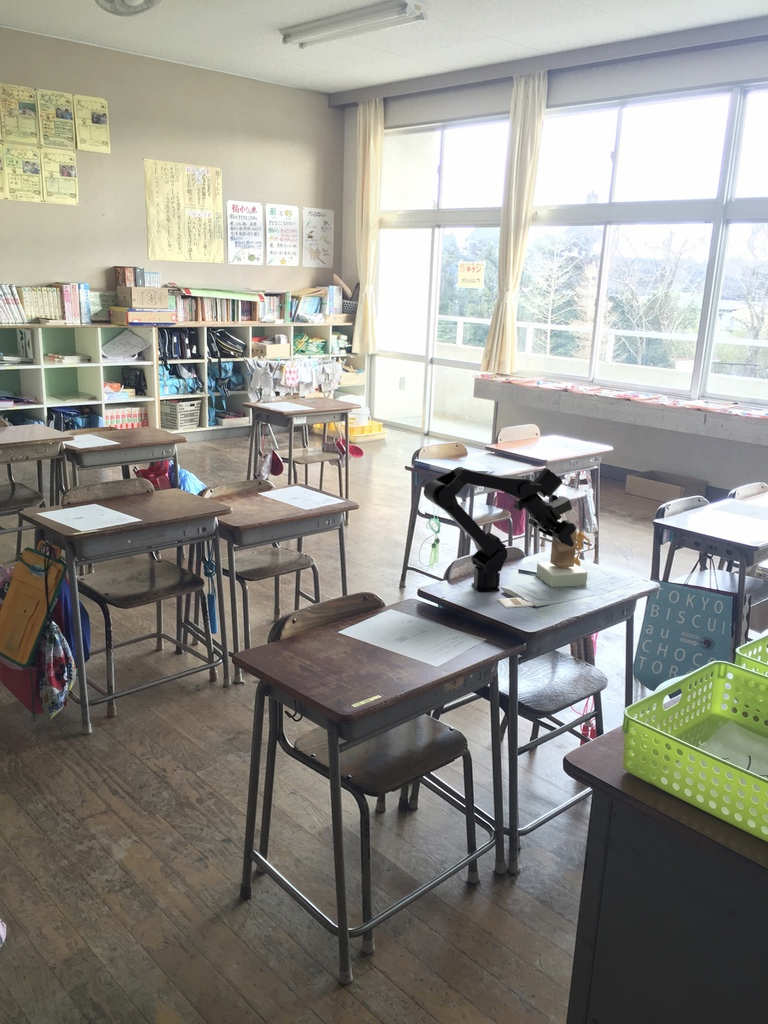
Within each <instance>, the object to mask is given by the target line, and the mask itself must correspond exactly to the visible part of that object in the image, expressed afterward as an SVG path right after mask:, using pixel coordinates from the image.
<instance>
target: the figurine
mask: <svg viewBox="0 0 768 1024" xmlns="http://www.w3.org/2000/svg"><path fill="white" fill-rule="evenodd" d="M584 540H585V541H587V546H588V547H587V550H588V551H590V550H591V549H590V547H591V543H590V542H591V540H590V538H588V537H587V536H586V535H585V533H584V532H582V531H577V536H576V547H575V549H577V552H576V550H575V555H576V553H577V556H575V558H574V563H575V564H576V565H578V566H579V567H581V561H580V559H579V557H580V553H581V549H582V547H583V545H584V544H583V543H582V542H583V541H584Z"/></svg>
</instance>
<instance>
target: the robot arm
mask: <svg viewBox="0 0 768 1024" xmlns="http://www.w3.org/2000/svg"><path fill="white" fill-rule="evenodd" d="M467 484H469V485H474V486H479V487H482V488H483V487H484V488H487V489H492V490H493V489H494V490H497V491H501V492H504V493H506V494H507V495H508V494H509V495H511V496H513V497H516V498H518V499H514V504H513V507H512V508H513V509H515V510H517V511H519V512H521V511H523V509H524V510H525V512H526V513H527V514H528V517H529V518H528V524H529V525H530V526H531V527H532V528H533V529H536V530H538V532H540V533H542V534H544V535H546V536H548V537H551V538H552V536H553V537H554V538H553V539H555V540H557V541H559V542H561V543H564V544H566V545H568V546H571V547H572V546H573V545H574V543H573V541H572V538H571V534H572V533H573V532H574V531H575V530H576V531H577V528H578V527H577V526H576V524H574V523H573V522H572V521H570V520H568V519H566V520H563V519H562V515H563V514H566V513H567V512H570V511H571V510H573V505H572V503H571V500H570V498H568V497H566V496H563V495H561V496H560V495H559V496H558V495H556V494H554V493H555V492H556V491H557V490H558V488H560V487H561V485H562V484H563V480H562V479H561V477H560V476H558V475H556V473H554V472H553V471H551V469H549V468H547V467H544V469H543V470H542V471H541V472H540V474H539V475H538V476H537V477H536V478H535V479H534V480H530V479H527V478H524V477H521V476H518V475H516V474H503V475H498V474H497V475H496V474H492V473H487V472H483V471H478V470H477V471H476V470H473V469H468V468H466V467H463V466H457V467H456V468H454V469H452V470H451V471H449V472H446V473H445V474H442V475H440V476H438V477H436V478H435V479H433V480H429V481H428V482H426V484H425V485H424V488H423V495H424V497H425V498H426V499H427V500H428V501H430V502H431V503H432V504H434V505H435V506H437V507H439V508H440V509H441V510H443V511H444V512H445V513H446V514H447V515H448V516H449V518H451V519H452V521H454V522H455V524H456V525H457V526H458V527H460V529H461V530H462V531H463V532H464V533H465V534H466V535H467V536H468V538H470V540H472V541H473V543H474V545H475V546H474V547H475V549H476V552H475V553H474V554H473V555H472V556H471V558H470V560H471V562H472V565H474V571H473V573H474V574H473V582H472V583H471V586H472V587H473V588H474V589H475V590H476V591H477V592H479V593H483V592H484V593H485V592H498V591H500V588H499V587H500V580H501V579H500V578H501V577H500V576H501V573H500V572H501V571H502V569H503V566H504V563H505V561H506V560H507V558H508V554H509V552H508V550H507V545H506V544H504V543H503V542H502V540H501V539H500V538H499V536H496V535H495V534H493V533H491V532H489V531H487V533H486V532H485V531H484V530H483V529H482V528H481V527H480V526H479V524H477V522H475V520H474V519H473V518H472V517H471V516H470V515H469V514H468V512H466V511H465V509H464V508H463V507H462V506H461V505H460V504H459V502H458V499H457V496H456V495H458V494H459V493H460V491H461V490H462V489H463V488H464V487H465V485H467ZM546 497H547V498H548V503H546V502H545V500H543V498H546ZM561 519H562V521H559V520H561ZM554 529H555V530H554Z"/></svg>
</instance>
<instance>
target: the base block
mask: <svg viewBox="0 0 768 1024" xmlns="http://www.w3.org/2000/svg"><path fill="white" fill-rule="evenodd" d="M535 574H536V576H537V577H538V578H539V579H540V580H542V581H543V580H544V581H543V582H545V581H546V582H547V583H548V584H549V585H548V584H547V583H546V582H545V583H546V584H547V585H548V586H550V587H551V588H559V586H560V587H577V586H578V587H579V586H587V583H588V571H587V570H585V569H583V567H581V566H580V567H579V566H578V565H576V564H575V563H574V567H563V568H558V567H557V566H555V565H553V564H552V563H550V561H543V562H540V561H539V562H537V564H536V573H535Z"/></svg>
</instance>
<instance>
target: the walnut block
mask: <svg viewBox="0 0 768 1024" xmlns="http://www.w3.org/2000/svg"><path fill="white" fill-rule="evenodd" d="M554 530H555V529H554ZM577 534H578V531H577V529H576V530H575V531H574V532H573V533H572V534H571V538H572V541H573V543H574V545H573V546H572V547H571V546H568V545H566V544H564V543H561V542H559V541H557V540H555V539H553V538H554V537H553V536H552V537H551V538H552V540H551V550H550V561H549V562H550V563H552V564H553V565H555V566H557V567H558V568H563V567H574V558H576V556H575V555H576V554H575V551H576V548H575V547H576V543H577V537H576V536H577Z"/></svg>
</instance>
